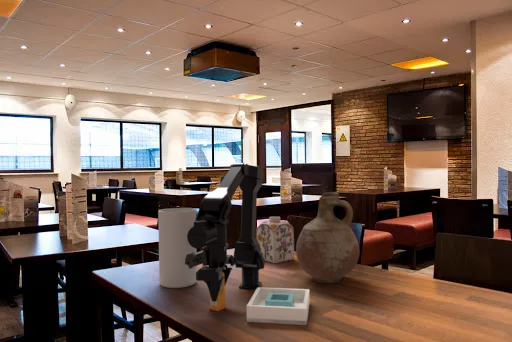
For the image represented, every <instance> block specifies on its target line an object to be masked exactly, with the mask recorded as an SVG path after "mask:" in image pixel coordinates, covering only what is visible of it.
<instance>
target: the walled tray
mask: <svg viewBox="0 0 512 342" xmlns="http://www.w3.org/2000/svg"><path fill="white" fill-rule="evenodd" d="M310 296H311V295H310V288H307V289H306V288H289V287H287V288H286V287H285V288H284V287H262V286H260V287H258V288H257V289H255V291H254V293H253V295H252V296H251V298H250V299H249V301H248V303H247V304H246V322H247V323H260V324H261V323H262V324H281V325H297V326H307V324H308V318H309V310H310V303H311V302H310Z"/></svg>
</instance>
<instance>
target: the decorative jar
mask: <svg viewBox="0 0 512 342" xmlns="http://www.w3.org/2000/svg"><path fill="white" fill-rule="evenodd" d="M294 235H295V234H294V227H293V225H292V224H291V223H289V221H287V220H281V217H280V216H269V218H268V220H265V221H261V223H259V225H258V226H257V227H256V239H257V241H258V242H259V244H260V251H261V253H262V255H263V257H264V259H265V262H266V261H268V262H267V263H270V262H272V263H271V264H274V263H275V264H279V262H280V263H283V261H284V262H288V260H289V261H293V260H294V259H295V238H294V237H295V236H294ZM292 259H293V260H292Z"/></svg>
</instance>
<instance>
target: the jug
mask: <svg viewBox="0 0 512 342" xmlns="http://www.w3.org/2000/svg"><path fill="white" fill-rule="evenodd" d="M335 207H341V208H344V210H345V217H344V218H342V219H339V218H337V216H336V215H335V213H334V208H335ZM316 215H317V216H315V218H314V219H313V220H311V221H309V222H308V223H306V224H305V225H304V226H303V228H302V229H301V231H300V233H299V235H298V238H297V241H296V245H295V253H296V258H297V261H298V263H299V265H300V267H301V269H302V270H303V271H304V272H305V273H306V274H307V275H309V276H310V277H312V279H313V281H315V282H316V283H320V284H335V283H340V281H341V280H342V278H344V277H346V276H347V275H348V274H350V273H351V272H352V271H353V269H355V267H356V266H357V263H358V261H359V258H360V251H361V249H360V246H359V241H358V239H357V237H356V235H355V232H354V231H353V229H352V226H351V224H352V221H353V217H354V210H353V207H352V205H351V204H350V202H348V201H346V200H342V199H340V193H339V192H336V191H335V192H334V191H333V192H323V193H322V195H321V196H320V197H319V199H318V209H317V214H316Z"/></svg>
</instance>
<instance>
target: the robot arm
mask: <svg viewBox="0 0 512 342" xmlns="http://www.w3.org/2000/svg"><path fill="white" fill-rule="evenodd" d="M264 173H265V172H264V170H263V168H261V167H260V165H251V164H248V163H245V162H235V163H231V164H230V166H229V169H228V171H227V173H226V174H225V176H224V178H223V179H222V180H221V182H220V184H219V185H218V186H217V188H216V189H214V190H213V191H210V192H208V193H207V195H205V196H204V197H203V199H202V201H201V202H200V206H199V208H198V211H197V213H196V219H195V222H194V227H192V228H191V229H190V230H189V232H188V234H187V240H188V242H189V244H190V245H191V246H192V247H193V248H196V250H198V249H202V250H200V251H197V253H193V252H192V253H190V254H187V255H186V258H185V264H186V265H188V267H189V269H191V268H193V267H194V266H197V267H198V266H199V265H202V266H201V267H200V268H199V269H197V272H196V280H197V281H196V282H198V281H200V282H204V283H205V285H206V286H207V289H208V293H209V292H210V296H211V299H212V301H214V302H216V301H217V298H218V295H219V292H220V288H221V285H222V282H223V279H224V281H225V286H226V285H227V282H228V280H229V278H230V275H231V272H232V270H233V267H234V266H235V268H238V269H241V283H240V284H239V285H238V288H239V289H249V290H251V289H253V290H256V289H257V288H258V287H261V285H262V281H260V270H264V269H265V267H266V266H265V265H266V261H265V259H264V257H263V255H262V253H261V251H260V244H259V242H258V241H257V227H256V226H257V204H258V203H257V202H258V201H257V199H258V198H257V197H258V192H259V190H260V189H261V187H262V185H263V179H264V177H265V174H264ZM238 188H240V190H241V192H242V193H241V219H240V220H241V223H240V237H239V238H238V240H237V241H236V242H235V243H234V251H233V254H228V248H229V247H230V246H229V243H227V239H228V237H227V225H228V224H229V223H230V221H229V219H228V215H229V214H230V212H231V208H232V206H233V203H232V198H233V196H234V194H235V193H236V191H237V190H238ZM228 265H230V267H228ZM222 272H223V273H224V277H222Z"/></svg>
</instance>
